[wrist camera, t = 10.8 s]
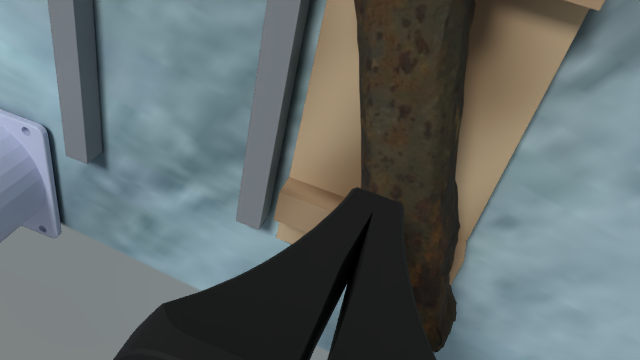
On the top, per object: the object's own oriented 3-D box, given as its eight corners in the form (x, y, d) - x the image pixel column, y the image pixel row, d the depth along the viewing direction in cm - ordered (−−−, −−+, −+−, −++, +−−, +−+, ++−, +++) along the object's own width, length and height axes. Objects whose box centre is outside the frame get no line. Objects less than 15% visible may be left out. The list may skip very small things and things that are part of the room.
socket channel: (81, 143, 27) (65, 155, 26) (39, -312, 16) (10, -319, 16) (268, 214, 26) (259, 229, 25) (354, -230, 15) (343, -233, 14)
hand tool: (367, 282, 23) (476, 298, 22) (343, 348, 20) (470, 372, 19) (354, -264, 14) (536, -293, 13) (307, -308, 11) (544, -352, 10)
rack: (282, 227, 26) (266, 254, 24) (380, -223, 15) (363, -227, 14) (438, 286, 25) (432, 318, 24) (665, -149, 14) (683, -144, 13)
